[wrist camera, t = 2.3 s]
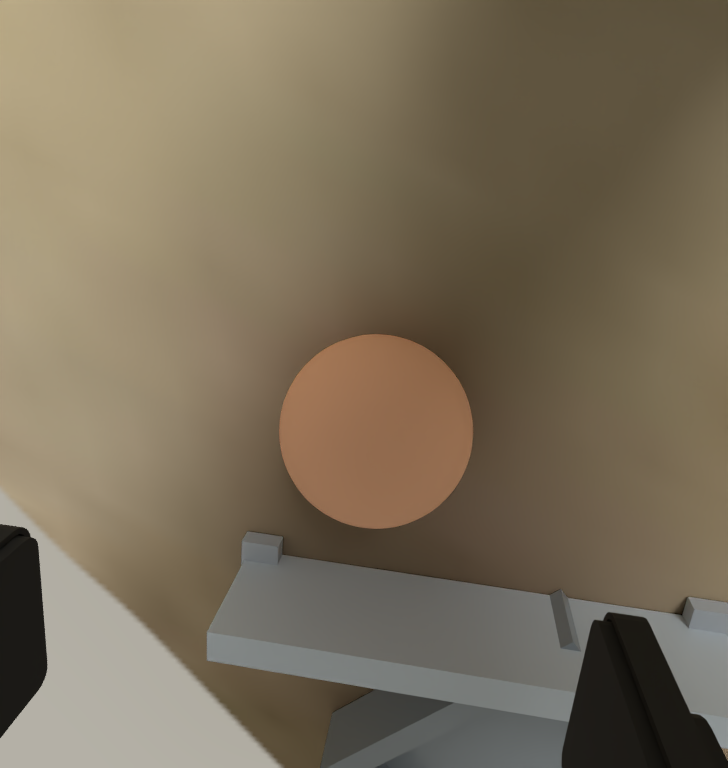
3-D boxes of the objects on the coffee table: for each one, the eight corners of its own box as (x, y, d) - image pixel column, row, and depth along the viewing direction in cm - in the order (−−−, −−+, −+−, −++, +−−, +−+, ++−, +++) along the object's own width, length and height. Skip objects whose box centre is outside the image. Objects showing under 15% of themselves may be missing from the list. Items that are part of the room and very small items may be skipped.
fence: (247, 531, 22) (203, 610, 18) (728, 602, 20) (790, 705, 16) (245, 591, 22) (203, 679, 19) (708, 664, 21) (762, 775, 17)
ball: (307, 305, 19) (257, 355, 14) (483, 324, 18) (491, 384, 14) (299, 461, 20) (252, 552, 16) (459, 483, 20) (460, 584, 15)
